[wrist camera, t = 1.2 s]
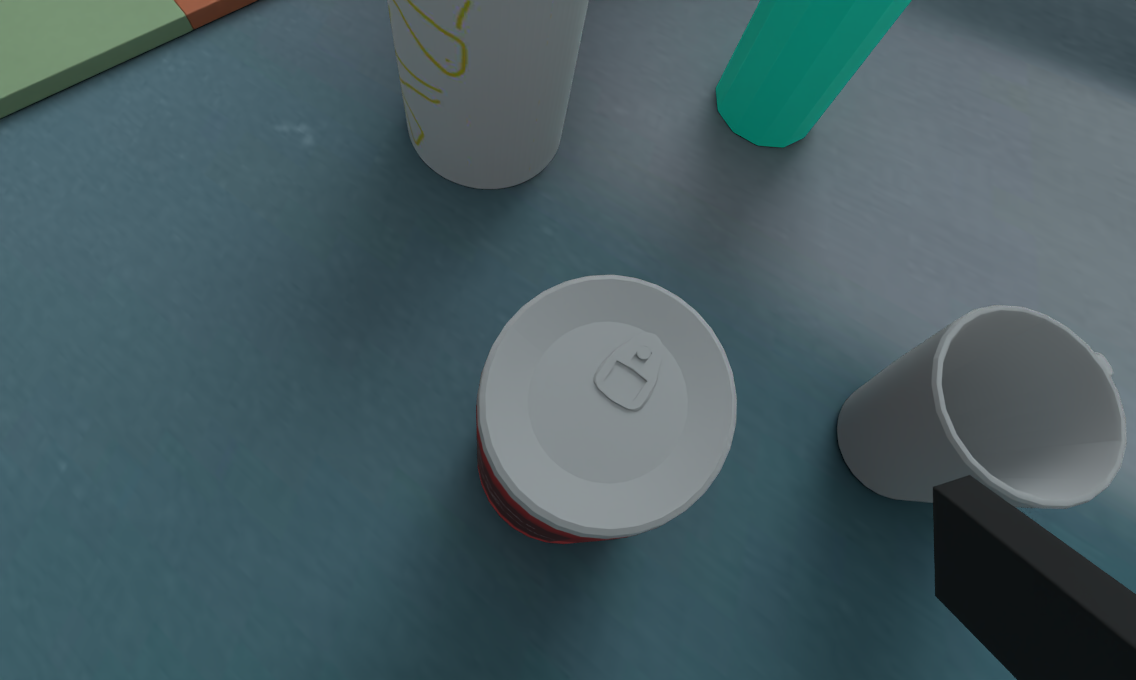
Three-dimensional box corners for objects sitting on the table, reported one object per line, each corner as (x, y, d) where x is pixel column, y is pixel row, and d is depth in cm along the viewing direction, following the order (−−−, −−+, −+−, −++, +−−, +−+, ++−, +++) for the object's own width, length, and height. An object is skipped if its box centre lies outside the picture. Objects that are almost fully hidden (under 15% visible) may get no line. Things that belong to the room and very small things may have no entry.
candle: (757, 45, 38) (875, -170, 27) (833, 110, 37) (988, -84, 26) (693, 97, 36) (791, -110, 25) (772, 167, 35) (910, -15, 24)
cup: (788, 394, 31) (896, 338, 23) (948, 332, 33) (1096, 261, 25) (864, 547, 29) (1010, 543, 21) (1027, 469, 32) (1214, 439, 24)
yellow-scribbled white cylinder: (392, 70, 34) (351, -169, 23) (538, 51, 36) (567, -182, 24) (426, 202, 32) (399, 8, 21) (580, 174, 34) (632, -20, 22)
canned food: (666, 400, 30) (764, 320, 20) (617, 570, 27) (702, 580, 17) (513, 345, 30) (533, 235, 20) (449, 511, 27) (433, 484, 17)
